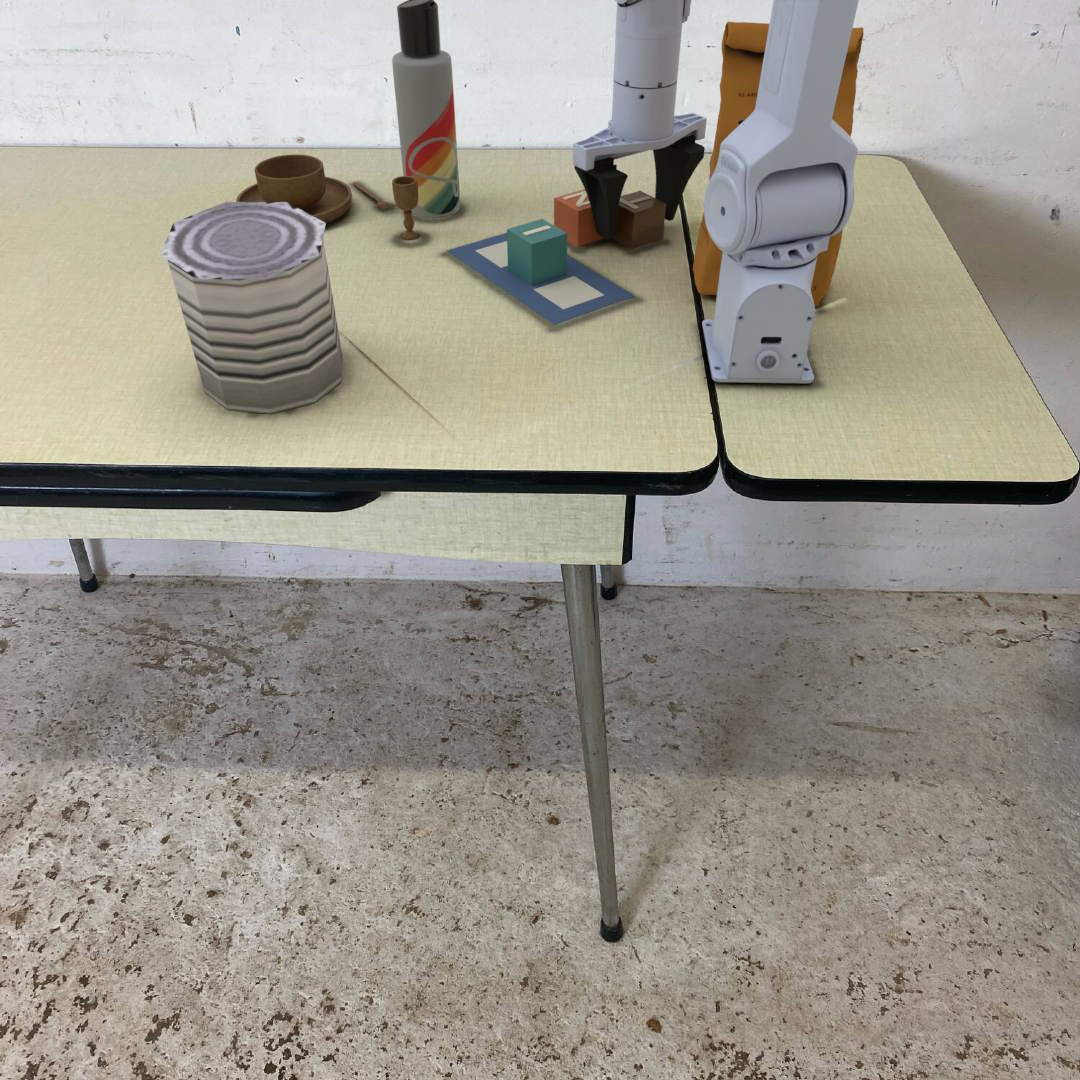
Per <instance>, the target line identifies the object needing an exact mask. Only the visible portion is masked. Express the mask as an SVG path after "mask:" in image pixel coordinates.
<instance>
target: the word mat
mask: <svg viewBox="0 0 1080 1080" xmlns="http://www.w3.org/2000/svg"><path fill="white" fill-rule="evenodd" d="M446 251H447V252H448V253H449V254H451V255H452V256H453V257H455V258H456V259H458V260H459V261H460V262H462V263H464V264H465V265H467V266H468V267H469V268H471V269H472V270H474V271H475V272H477V273H478V274H480V275H481V276H482V277H484V278H485V279H486V280H488V281H489V282H491V283H492V284H494V285H495V286H497V287H498V288H500V289H501V290H502V291H505V293H507V294H509V295H510V296H512V297H513V298H514V299H516V300H517V301H518V302H520V303H521V304H523V305H525V306H526V307H528V308H529V309H530V310H532V311H533V312H534V313H536V314H537V315H539V316H541V318H543V319H545V320H546V321H548V322H549V323H551V324H552V325H553V326H555V325H559V324H562V323H564V322H567V321H570V320H572V319H575V318H578V317H581V316H584V315H587V314H590V313H592V312H595V311H598V310H601V309H604V308H607V307H609V306H612V305H615V304H618V303H620V302H623V301H626V300H629V299H632V298H635V297H636V295H635V294H633V293H631V292H629V291H628V290H627V289H625V288H624V287H621V286H619V285H618V284H616V283H615V282H613V281H611V280H609V279H608V278H606V277H605V276H603V275H601V274H600V273H598V272H596V271H595V270H593V269H592V268H590V267H588V266H586V265H584V264H583V263H581V262H580V261H578V260H576V259H574V258H573V257H571V256H570V255H568V254H567V274H566V275H563V276H560V277H557V278H554V279H551V280H548V281H545V282H542V283H539V284H535V285H530V284H529V283H527V282H526V281H524V280H523V279H521V278H520V277H518V276H517V275H515V274H514V273H512V272H511V271H509V270H508V253H507V232H505V233H503V234H498V235H494V236H492V237H488V238H484V239H481V240H477V241H475V242H471V243H467V244H464V245H460V246H457V247H454V248H451V249H447V250H446Z"/></svg>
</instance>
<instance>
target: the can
mask: <svg viewBox="0 0 1080 1080" xmlns="http://www.w3.org/2000/svg"><path fill="white" fill-rule="evenodd" d="M326 226H327V224H326V223H325V222H323V221H321V220H319V219H317V218H315V217H314V216H312V215H310V214H308V213H306V212H304V211H302V210H301V209H299V208H297V207H295V206H293V205H291V204H289V203H288V202H236V201H225V202H222V203H219V204H216V205H214V206H212V207H209V208H207V209H204V210H201V211H200V212H196V213H194V214H191V215H189V216H187V217H184V218H182V219H179V220H176V221H174V222H172V226H171V228H170V230H169V232H168V235H167V237H166V240H165V242H164V245H163V247H162V249H161V251H160V253H159V254H160V256H161V257H163V258H164V259H166V260H167V263H168V264H167V265H168V267H169V270H170V275H171V278H172V281H173V285H174V289H175V292H176V295H177V299H178V302H179V307H180V309H181V314H182V316H183V320H184V324H185V327H186V330H187V334H188V337H189V341H190V345H191V348H192V352H193V355H194V359H195V362H196V366H197V370H198V373H199V377H200V380H201V383H202V388H203V391H204V393H205V394H206V395H208V396H209V397H210V398H211V399H212V400H214V401H216V402H217V403H218V404H219V405H221V406H222V407H224V408H225V409H226V410H227V411H237V412H247V413H257V414H266V415H272V414H276V413H280V412H284V411H288V410H292V409H295V408H299V407H304V406H307V405H311V404H315V403H317V402H318V401H320V400H321V399H322V398H323V397H324V396H325V395H327V394H328V393H329V392H331V391H332V390H333V389H334V388H336V387H337V386H338V385H340V383H342V382H343V373H344V372H343V371H344V369H343V366H344V358H343V352H342V345H341V339H340V332H339V328H338V327H339V326H338V321H337V314H336V309H335V303H334V296H333V289H332V283H331V278H330V277H331V276H330V271H329V266H328V265H329V264H328V259H327V254H326V247H325V242H324V241H325V240H324V235H325V231H326Z"/></svg>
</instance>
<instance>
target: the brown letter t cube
mask: <svg viewBox="0 0 1080 1080" xmlns="http://www.w3.org/2000/svg"><path fill="white" fill-rule="evenodd" d="M665 209H666V203H664V202H662V201H660V200H658V199H656V198H655V196H653V195H650V194H648V193H646V192H644V191H642V190H638V191H637V190H636V191H633V192H629V193H626V194H623V195H621V197H620V202H619V207H618V218H617V229H616V234H615V237H614V238H613V239H612V240H614V241H616V242H618V243H620V244H621V245H624V247H627V248H629V249H631V250H635V249H637V248H641V247H645V246H648V245H650V244H653V243H655V242H659V241H662V240H664V233H665V232H664V231H665V220H666V219H665Z"/></svg>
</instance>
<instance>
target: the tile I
mask: <svg viewBox="0 0 1080 1080" xmlns="http://www.w3.org/2000/svg"><path fill="white" fill-rule="evenodd" d="M506 233H507V253H508V270H509V271H511V272H512V273H514V274H515V275H517V276H518V277H520V278H521V279H523V280H524V281H526V282H527V283H529V284H530V285H535V284H539V283H542V282H545V281H548V280H551V279H554V278H557V277H560V276H563V275H566V274H567V255H568V241H567V233H566V232H564V231H562V230H561V229H559V228H557V227H556V226H554V224H552V223H551V222H549V221H547V220H545V219H544V218H540V219H536V220H533V221H530V222H526V223H523V224H519V225H516V226H513V227H510V228H507V229H506Z"/></svg>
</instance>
